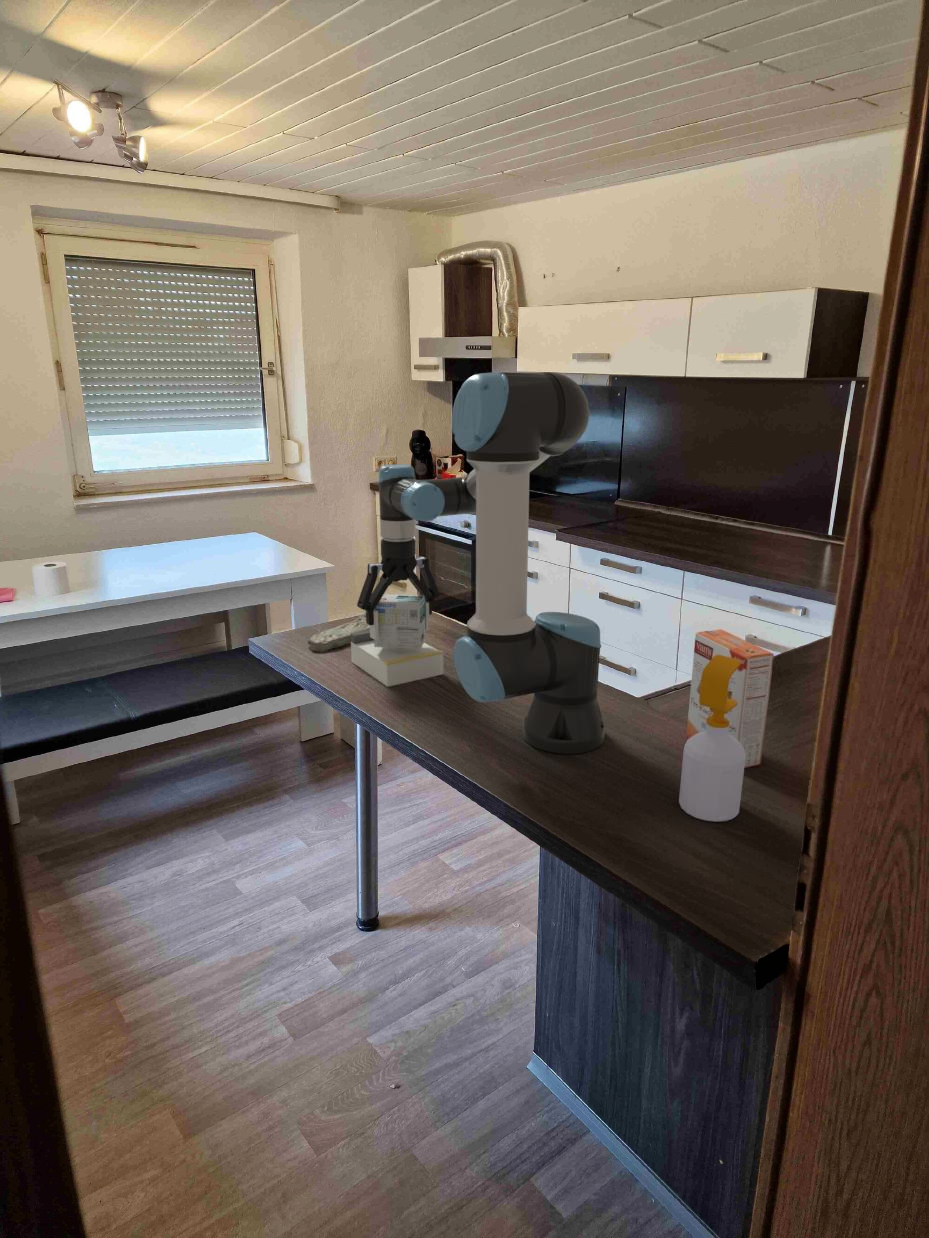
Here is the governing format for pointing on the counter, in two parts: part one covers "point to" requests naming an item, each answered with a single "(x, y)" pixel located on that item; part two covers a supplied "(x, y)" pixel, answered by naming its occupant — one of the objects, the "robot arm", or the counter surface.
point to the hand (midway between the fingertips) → (400, 633)
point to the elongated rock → (337, 635)
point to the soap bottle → (713, 752)
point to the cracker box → (734, 690)
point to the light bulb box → (401, 621)
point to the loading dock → (395, 660)
